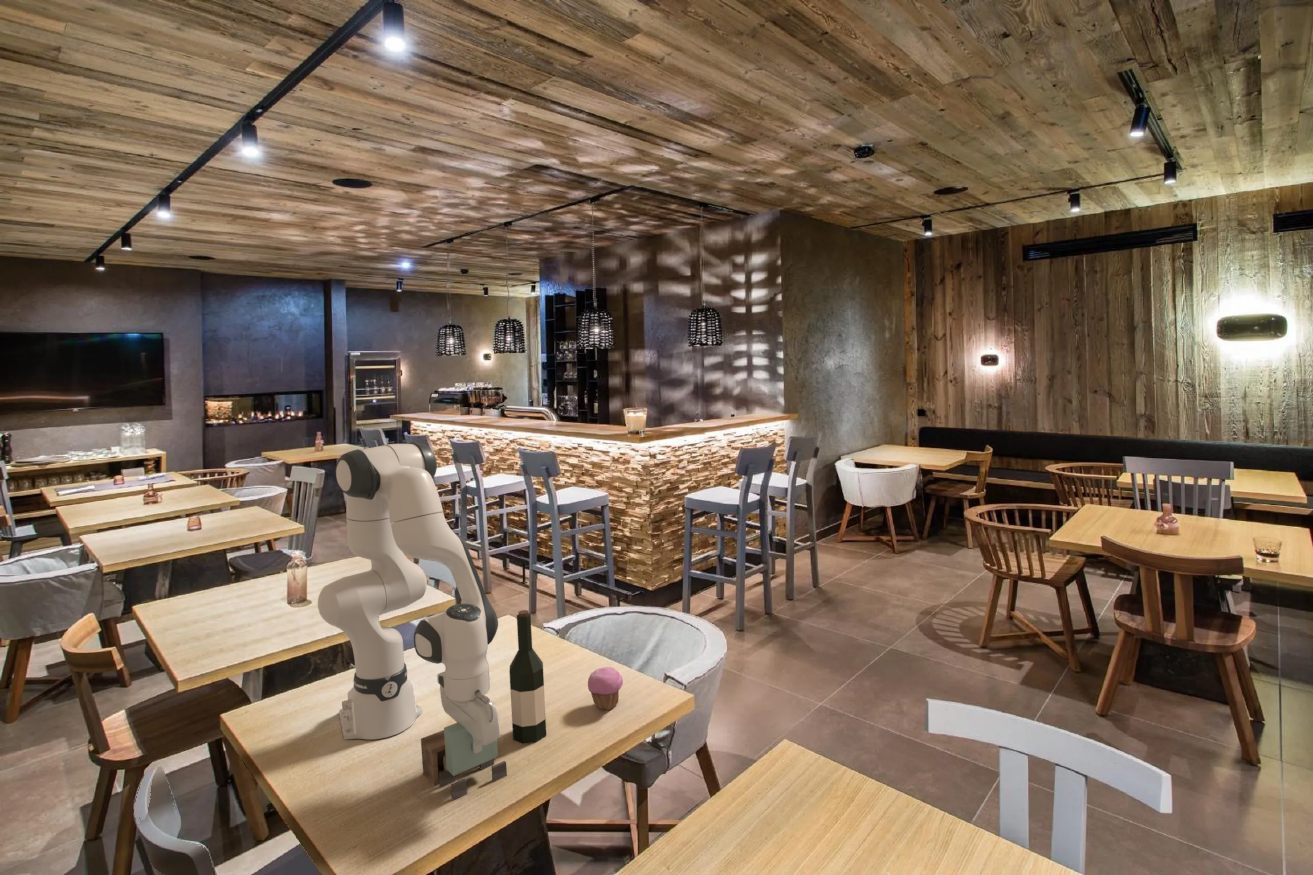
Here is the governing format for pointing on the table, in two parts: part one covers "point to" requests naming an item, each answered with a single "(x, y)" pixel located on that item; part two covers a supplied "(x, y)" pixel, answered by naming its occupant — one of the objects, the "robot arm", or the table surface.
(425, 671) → the table surface
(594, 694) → the cupcake
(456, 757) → the door
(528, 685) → the wine bottle
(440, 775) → the cabinet
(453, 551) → the robot arm
